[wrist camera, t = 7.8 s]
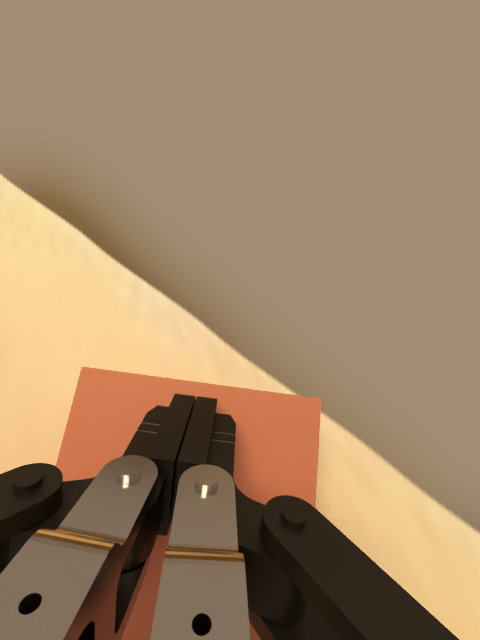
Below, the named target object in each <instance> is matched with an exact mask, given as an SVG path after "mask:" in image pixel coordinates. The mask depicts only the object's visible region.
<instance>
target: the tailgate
mask: <svg viewBox="0 0 480 640" xmlns="http://www.w3.org/2000/svg"><path fill="white" fill-rule="evenodd" d="M175 393H178V394H185V395H193V396H196V398H197V396H201V397H209V398H216V399H218V400H217V408H216V413H221V414H228V415H231V416H232V418H233V420H234V421H235V423H236V434H235V453H234V472H233V478H234V482H235V484H236V486H237V487H238V489H239V490H240V491H241V492H242V493H243V494H244V495H246V496H247V497H249V498H250V499H252V500H254V501H257V502H259V503H262V504H264V505H266V503H267V502H268V501H269V500H270V499H272V498H274V497H276V496H281V495H289V496H295V497H298V498H301V499H303V500H305V501H306V502H308V503H309V504H311V505H312V506H313V507H314V508H315V500H316V483H317V465H318V447H319V429H320V412H321V399H319V398H312V397H311V398H310V397H304V396H297V395H289V394H282V393H274V392H267V391H259V390H252V389H244V388H237V387H229V386H222V385H214V384H207V383H199V382H192V381H185V380H177V379H170V378H162V377H155V376H147V375H140V374H132V373H125V372H117V371H110V370H102V369H95V368H87V367H82V369H81V373H80V376H79V380H78V384H77V388H76V392H75V395H74V399H73V403H72V407H71V411H70V414H69V418H68V422H67V426H66V430H65V433H64V437H63V441H62V445H61V449H60V452H59V456H58V460H57V464H56V467H57V468H59V469H60V470H61V472H62V475H63V482H64V481H73V480H82V479H89V478H93V477H96V476H97V475H98V473H99V472H100V471H101V469H102V468H103V467H104V466H105V465H106V464H107V463H108V462H110V461H111V460H113V459H116V458H118V457H122V456H123V454H124V452H125V450H126V449H127V447H128V445H129V443H130V441H131V440H132V438H133V436H134V434H135V433H136V431H137V429H138V427H139V426H140V424H141V423H142V420H143V419H144V417H145V415H146V413H147V412H148V411H150V410H151V409H153V408H154V407H156V406H157V405H159V406H167V407H169V405H170V403H171V401H172V399H173V397H174V394H175ZM170 526H171V523H170ZM170 526H169V530H168V534H167V536H163V535H157V537H156V541H155V544H154V547H153V550H152V552H151V557H150V564H149V567H148V570H147V572H146V575H145V578H144V580H143V583H142V585H141V588H140V591H139V593H138V596H137V599H136V601H135V604H134V607H133V609H132V612H131V615H130V617H129V620H128V623H127V625H126V628H125V630H124V633H123V636H122V638H121V640H150V637H151V631H152V625H153V619H154V614H155V608H156V602H157V596H158V591H159V585H160V579H161V573H162V568H163V562H164V556H165V552H166V549H168V543H169V537H170ZM249 627H250V640H261V639H260V637H259V636H258V634H257V633H256V631H255V630H254V628H253V627H252V625H251V623H250V621H249Z"/></svg>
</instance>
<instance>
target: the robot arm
mask: <svg viewBox="0 0 480 640" xmlns="http://www.w3.org/2000/svg"><path fill="white" fill-rule="evenodd" d="M217 400H218V399H216V398H209V397H201V396H197V398H196V396H193V395H185V394H178V393H175V394H174V397H173V399H172V401H171V403H170V405H169V407H167V406H159V405H157V406H156V407H154V408H153V409H151V410H150V411H148V412H147V413H146V415H145V417H144V419H143V420H142V423H141V424H140V426H139V427H138V429H137V431H136V433H135V434H134V436H133V438H132V440H131V441H130V443H129V445H128V447H127V449H126V450H125V452H124V454H123V456H122V457H118V458H116V459H113V460H111V461H110V462H108V463H107V464H106V465H105V466H104V467H103V468H102V469H101V471H100V472H99V473H98V475H97V476H96V477H93V478H89V479H82V480H73V481H64V482H63V475H62V472H61V470H60V469H59V468H57V467H56V466H54V465H51V464H46V463H34V464H28V465H24V466H21V467H18V468H15V469H13V470H10V471H8V472H5V473H2V474H0V640H121V638H122V636H123V633H124V630H125V628H126V625H127V623H128V620H129V617H130V615H131V612H132V609H133V607H134V604H135V601H136V599H137V596H138V593H139V591H140V588H141V585H142V583H143V580H144V578H145V575H146V572H147V570H148V567H149V564H150V557H151V552H152V550H153V547H154V544H155V541H156V537H157V535H163V536H167V534H168V530H169V526H170V523H171V526H170V537H169V543H168V549H166V552H165V556H164V562H163V568H162V573H161V579H160V585H159V591H158V596H157V602H156V608H155V614H154V619H153V625H152V631H151V637H150V640H250V627H249V621H250V623H251V625H252V627H253V628H254V630H255V631H256V633H257V634H258V636H259V637H260V639H261V640H459V639H458V638H457V637H456V636H455V635H453V634H452V633H451V632H450V631H449V630H448V629H447V628H446V627H445V626H444V625H442V624H441V623H440V622H439V621H438V620H437V619H436V618H435V617H434V616H433V615H432V614H430V613H429V612H428V611H427V610H426V609H425V608H424V607H423V606H422V605H421V604H419V603H418V602H417V601H416V600H415V599H414V598H413V597H412V596H411V595H410V594H409V593H407V592H406V591H405V590H404V589H403V588H402V587H401V586H400V585H399V584H398V583H396V582H395V581H394V580H393V579H392V578H391V577H390V576H389V575H388V574H387V573H386V572H384V571H383V570H382V569H381V568H380V567H379V566H378V565H377V564H376V563H375V562H373V561H372V560H371V559H370V558H369V557H368V556H367V555H366V554H365V553H364V552H363V551H361V550H360V549H359V548H358V547H357V546H356V545H355V544H354V543H353V542H352V541H350V540H349V539H348V538H347V537H346V536H345V535H344V534H343V533H342V532H341V531H340V530H338V529H337V528H336V527H335V526H334V525H333V524H332V523H331V522H330V521H329V520H327V519H326V518H325V517H324V516H323V515H322V514H321V513H320V512H319V511H318V510H317V509H315V508H314V507H313V506H312V505H311V504H309V503H308V502H306V501H305V500H303V499H301V498H298V497H295V496H289V495H281V496H276V497H274V498H272V499H270V500H269V501H268V502H267V503H266V505H264V504H262V503H259V502H257V501H254V500H252V499H250V498H249V497H247V496H246V495H244V494H243V493H242V492H241V491H240V490H239V489H238V487H237V486H236V484H235V482H234V478H233V472H234V453H235V434H236V423H235V421H234V420H233V418H232V416H231V415H228V414H221V413H216V408H217Z"/></svg>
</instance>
